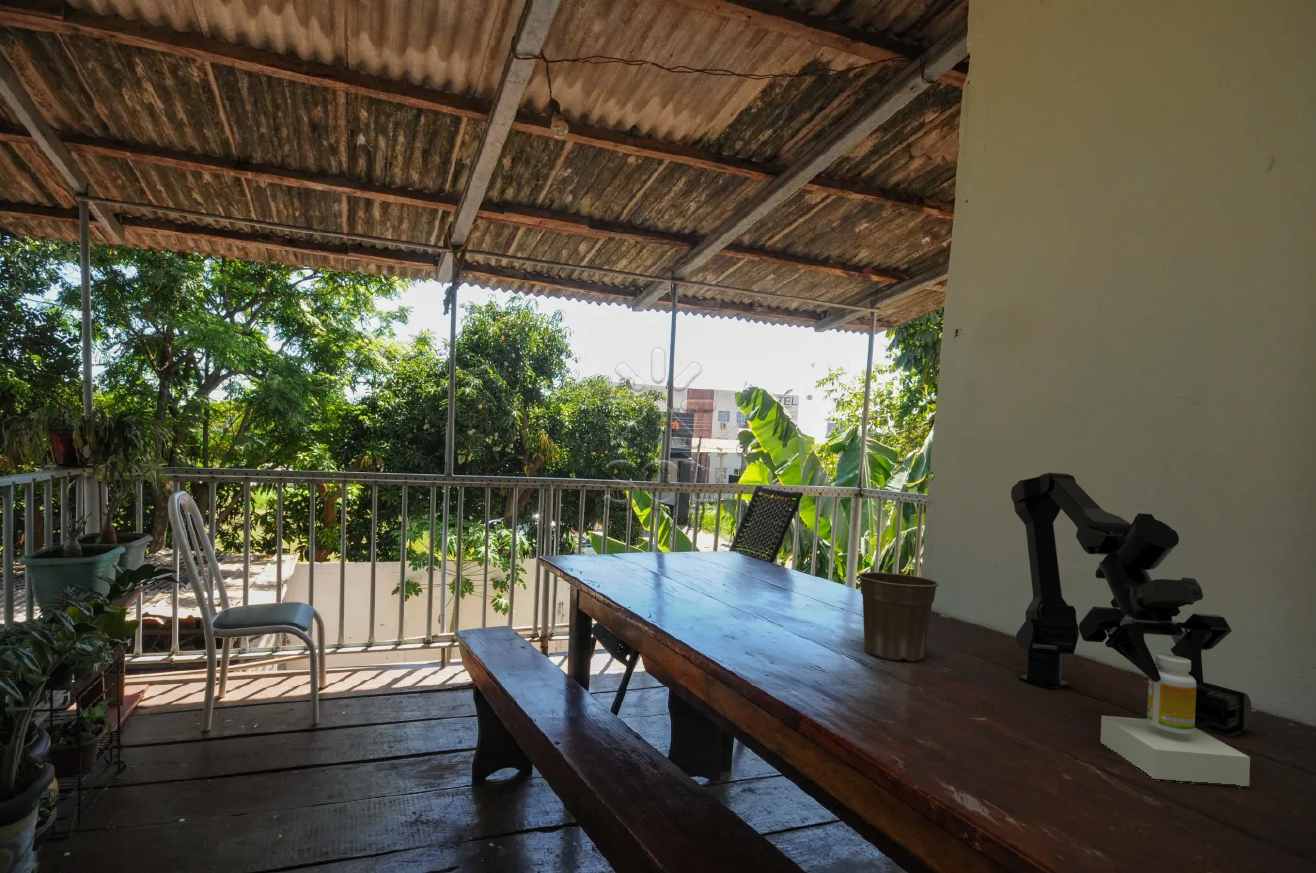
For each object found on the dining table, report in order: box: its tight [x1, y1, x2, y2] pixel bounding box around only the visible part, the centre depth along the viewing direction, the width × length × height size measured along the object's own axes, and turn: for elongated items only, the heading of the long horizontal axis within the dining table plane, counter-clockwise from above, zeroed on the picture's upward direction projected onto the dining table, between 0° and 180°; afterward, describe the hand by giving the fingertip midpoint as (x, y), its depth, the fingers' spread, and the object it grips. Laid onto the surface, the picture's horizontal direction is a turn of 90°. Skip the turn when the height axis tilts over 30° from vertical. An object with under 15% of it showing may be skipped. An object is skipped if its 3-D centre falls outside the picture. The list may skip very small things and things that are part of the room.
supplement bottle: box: [1146, 653, 1196, 734], centre depth 96 cm, size 5×5×10 cm
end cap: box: [1195, 681, 1252, 739], centre depth 113 cm, size 10×7×7 cm
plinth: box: [1100, 715, 1251, 787], centre depth 96 cm, size 12×12×4 cm
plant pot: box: [857, 571, 939, 662], centre depth 145 cm, size 16×16×16 cm
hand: (1178, 682), depth 95 cm, fingers closed on supplement bottle, 5 cm apart
